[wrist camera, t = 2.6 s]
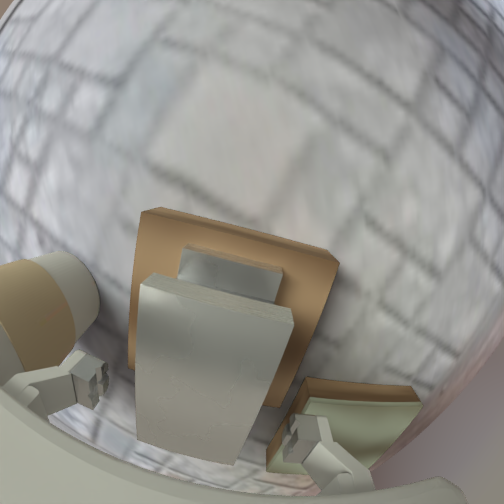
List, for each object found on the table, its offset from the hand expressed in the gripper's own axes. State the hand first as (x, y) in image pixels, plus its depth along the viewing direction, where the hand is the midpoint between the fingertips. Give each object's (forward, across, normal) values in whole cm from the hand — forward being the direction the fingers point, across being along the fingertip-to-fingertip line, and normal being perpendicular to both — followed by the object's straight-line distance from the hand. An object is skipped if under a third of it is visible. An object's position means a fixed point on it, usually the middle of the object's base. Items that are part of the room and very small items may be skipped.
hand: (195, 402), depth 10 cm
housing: (+6, 0, -1) cm, 6 cm away
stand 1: (+9, 0, -1) cm, 9 cm away
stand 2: (+9, -13, +9) cm, 18 cm away
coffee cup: (+9, +13, +2) cm, 16 cm away
